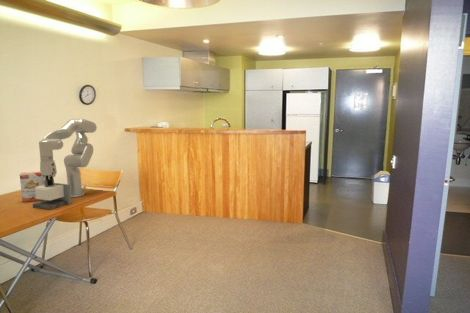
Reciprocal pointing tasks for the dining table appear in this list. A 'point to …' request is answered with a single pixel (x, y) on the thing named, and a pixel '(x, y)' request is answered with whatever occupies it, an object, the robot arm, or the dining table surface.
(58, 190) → the white rectangular box
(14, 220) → the dining table surface
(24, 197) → the cracker box
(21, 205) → the dining table surface
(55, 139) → the robot arm
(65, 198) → the grey piece
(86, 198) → the dining table surface
